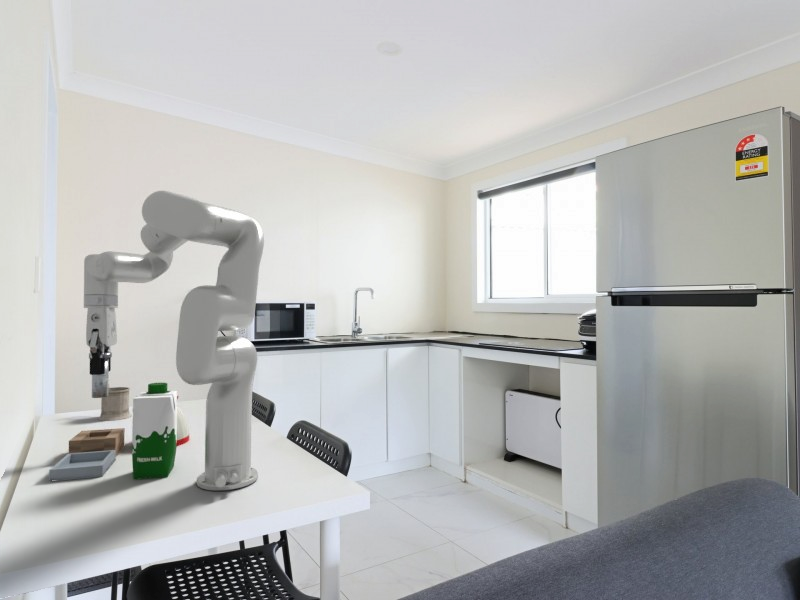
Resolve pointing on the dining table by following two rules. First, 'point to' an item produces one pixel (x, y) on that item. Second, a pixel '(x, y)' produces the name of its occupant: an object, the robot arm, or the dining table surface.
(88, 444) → the socket block
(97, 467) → the tray
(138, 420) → the milk carton
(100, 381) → the pin
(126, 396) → the mug
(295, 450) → the dining table surface
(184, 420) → the kitchen timer
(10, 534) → the dining table surface
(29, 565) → the dining table surface
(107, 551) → the dining table surface
